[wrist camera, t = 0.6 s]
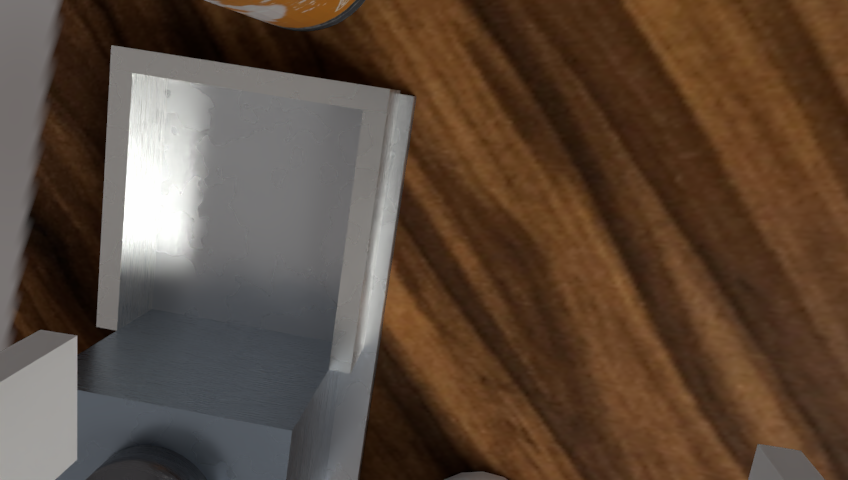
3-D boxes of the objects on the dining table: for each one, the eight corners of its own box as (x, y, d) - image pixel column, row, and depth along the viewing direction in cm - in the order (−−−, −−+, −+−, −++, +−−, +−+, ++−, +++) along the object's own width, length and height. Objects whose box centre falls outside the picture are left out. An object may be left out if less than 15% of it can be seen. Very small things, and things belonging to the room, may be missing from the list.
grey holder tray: (146, 50, 39) (-39, 22, 26) (417, 93, 38) (376, 88, 25) (120, 454, 45) (-44, 611, 31) (356, 500, 44) (295, 684, 30)
